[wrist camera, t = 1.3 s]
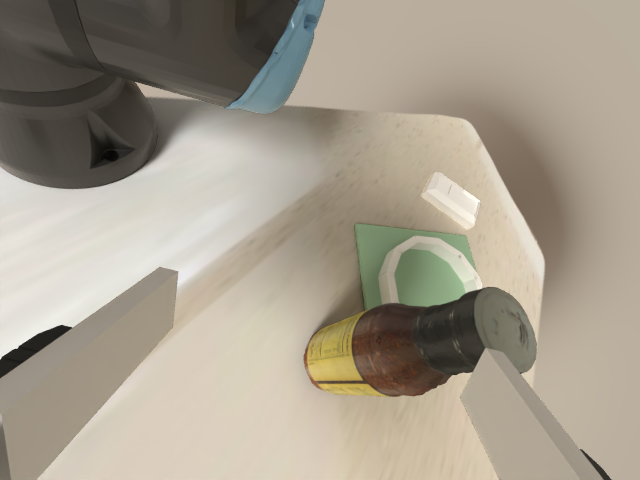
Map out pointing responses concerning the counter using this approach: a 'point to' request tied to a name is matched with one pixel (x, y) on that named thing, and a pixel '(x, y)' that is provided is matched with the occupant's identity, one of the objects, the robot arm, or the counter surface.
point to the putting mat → (413, 266)
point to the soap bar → (451, 199)
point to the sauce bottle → (418, 344)
